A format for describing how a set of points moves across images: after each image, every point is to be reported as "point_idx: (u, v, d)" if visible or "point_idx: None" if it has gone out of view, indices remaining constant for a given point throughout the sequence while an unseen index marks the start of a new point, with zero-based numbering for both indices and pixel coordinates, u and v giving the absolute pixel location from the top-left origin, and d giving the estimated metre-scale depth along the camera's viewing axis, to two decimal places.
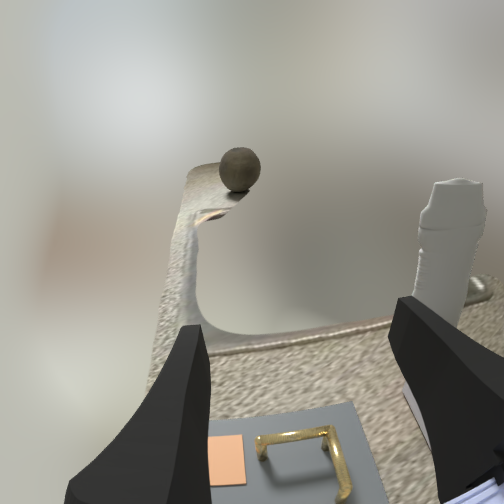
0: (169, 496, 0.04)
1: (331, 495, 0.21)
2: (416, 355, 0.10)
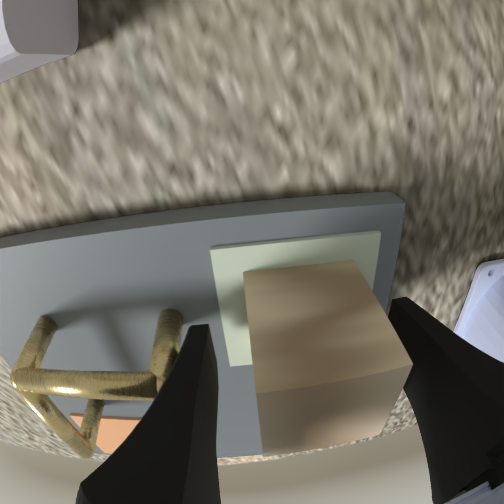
0: (184, 497, 0.04)
1: None
2: (410, 356, 0.10)
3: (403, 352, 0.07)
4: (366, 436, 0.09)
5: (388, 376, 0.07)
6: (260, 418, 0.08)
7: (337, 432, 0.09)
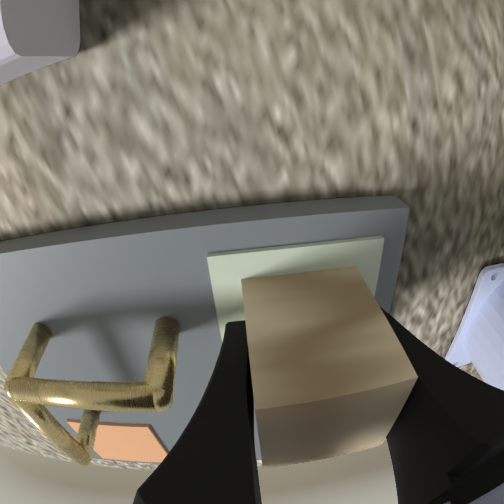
0: (255, 494, 0.04)
1: None
2: None
3: (407, 364, 0.07)
4: (368, 447, 0.09)
5: (392, 389, 0.07)
6: (259, 433, 0.07)
7: (338, 444, 0.08)
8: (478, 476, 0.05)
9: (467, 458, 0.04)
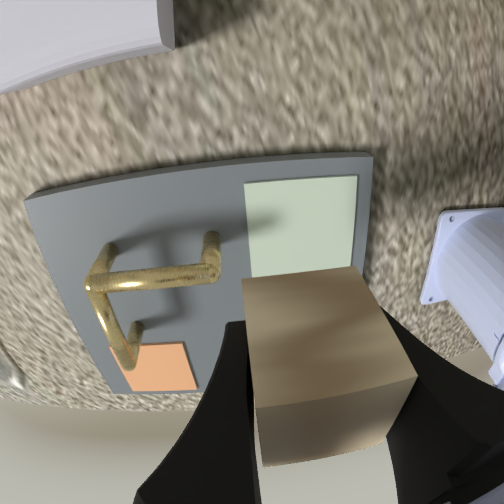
0: (255, 494, 0.04)
1: (200, 249, 0.18)
2: None
3: (407, 363, 0.07)
4: (368, 446, 0.09)
5: (392, 388, 0.07)
6: (260, 431, 0.07)
7: (338, 443, 0.08)
8: (478, 476, 0.05)
9: (467, 457, 0.04)
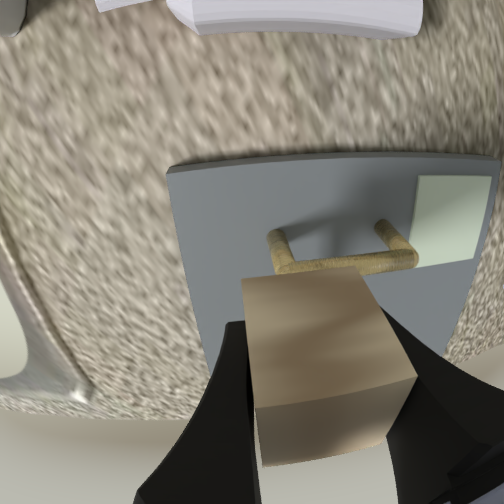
0: (255, 494, 0.04)
1: (369, 238, 0.17)
2: None
3: (407, 363, 0.07)
4: (368, 446, 0.09)
5: (391, 388, 0.07)
6: (259, 432, 0.07)
7: (338, 444, 0.08)
8: (478, 476, 0.05)
9: (467, 457, 0.04)
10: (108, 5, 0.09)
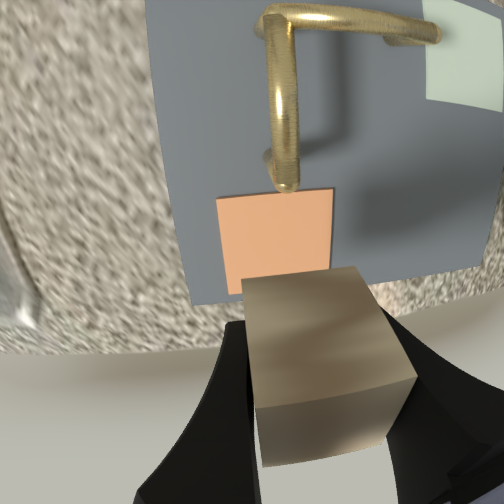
0: (255, 494, 0.04)
1: (379, 47, 0.12)
2: None
3: (407, 364, 0.07)
4: (368, 446, 0.09)
5: (391, 389, 0.07)
6: (259, 432, 0.07)
7: (338, 444, 0.08)
8: (478, 476, 0.05)
9: (467, 457, 0.04)
10: None
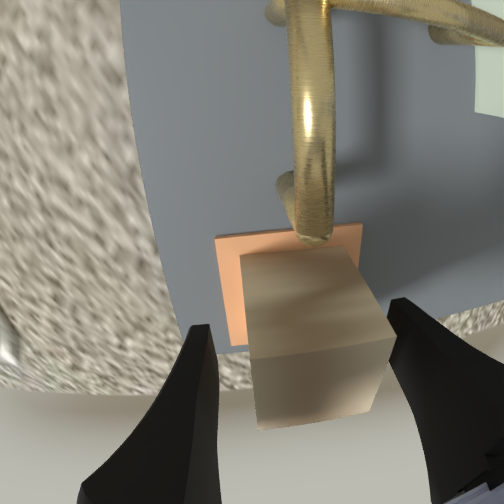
0: (186, 497, 0.04)
1: (424, 44, 0.09)
2: (409, 357, 0.10)
3: (387, 325, 0.08)
4: (356, 412, 0.10)
5: (373, 347, 0.08)
6: (255, 386, 0.08)
7: (328, 406, 0.09)
8: None
9: None
10: None
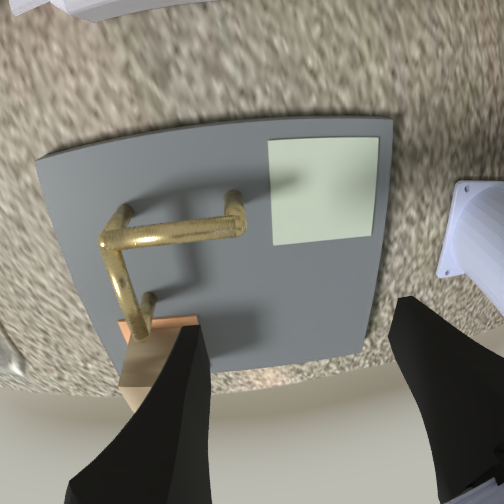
0: (169, 496, 0.04)
1: (221, 210, 0.17)
2: (416, 355, 0.10)
3: None
4: None
5: None
6: (125, 398, 0.17)
7: None
8: None
9: None
10: (20, 10, 0.09)
